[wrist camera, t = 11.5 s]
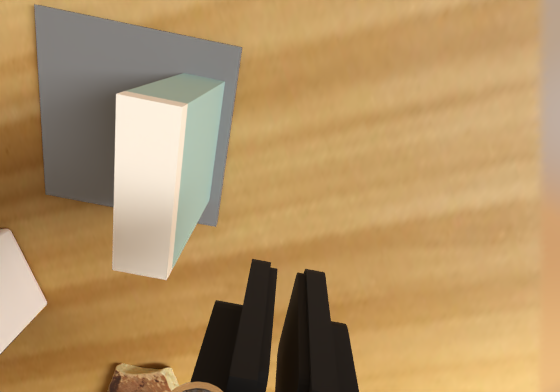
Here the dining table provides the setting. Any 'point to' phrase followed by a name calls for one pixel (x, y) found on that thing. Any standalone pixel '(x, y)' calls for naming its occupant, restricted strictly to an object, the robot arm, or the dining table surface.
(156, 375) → the shard
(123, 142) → the slab
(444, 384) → the dining table surface
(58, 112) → the mat
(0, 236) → the medicine bottle
